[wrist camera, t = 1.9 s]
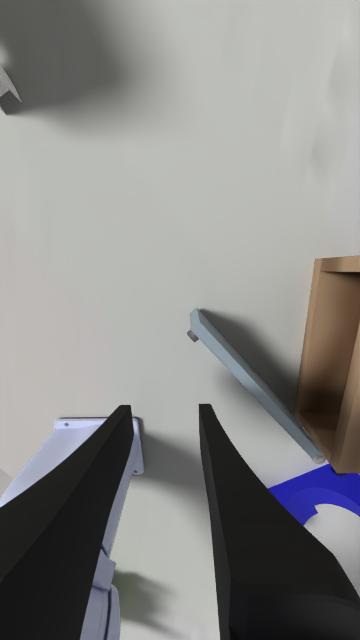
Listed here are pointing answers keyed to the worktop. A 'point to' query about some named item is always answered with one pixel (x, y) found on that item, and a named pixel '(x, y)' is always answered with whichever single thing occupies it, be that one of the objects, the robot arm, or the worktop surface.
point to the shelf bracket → (6, 85)
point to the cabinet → (332, 363)
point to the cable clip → (318, 492)
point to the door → (252, 382)
